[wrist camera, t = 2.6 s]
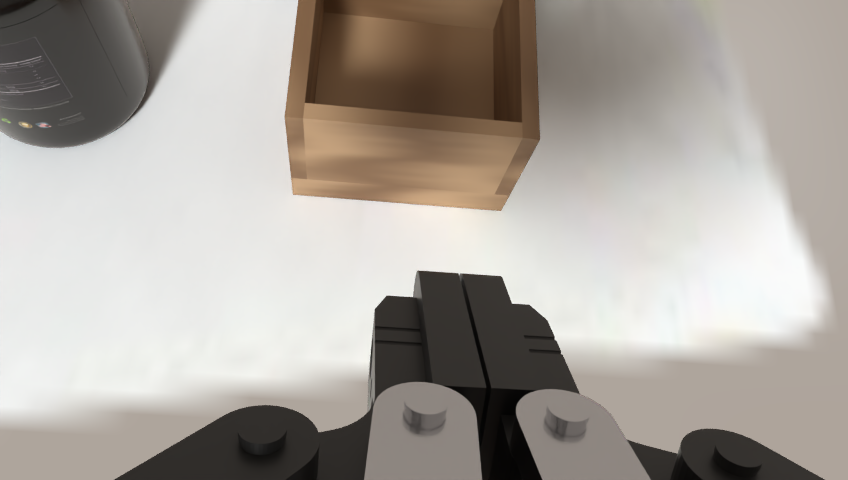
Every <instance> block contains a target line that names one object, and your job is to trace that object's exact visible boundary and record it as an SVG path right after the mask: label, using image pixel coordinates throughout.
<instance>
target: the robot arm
mask: <svg viewBox="0 0 848 480" xmlns="http://www.w3.org/2000/svg"><path fill="white" fill-rule="evenodd" d="M554 338H555V337H554V335H553V332H552V330H551V328H550V326H549V323H548V321H547V320H546V319H545V318H544V317H543V316H542V315H540V314H539V313H538V312H537V311H536V310H535V309H533V308H532V307H531V306H530V305H523V304H512V303H511V300H510V297H509V295H508V292H507V289H506V286H505V284H504V281H503V278H502V277H501V276H489V275H475V274H460V275H459V274H458V273H444V272H430V271H417V273H416V278H415V285H414V294H413V297H399V296H386V297H385V298H384V300H383V301H382V302H381V303H380V304H379V305H378V306H377V308H376V309H375V313H374V324H373V335H372V346H371V357H370V368H369V379H368V413H367V414H366V415H365V416H364V417H362V418H361V419H359V420H358V421H356V422H354V423H352V424H350V425H348V426H345V427H342V428H339V429H335V430H330V431H325V432H319V433H318V431H317V428H316V427H315V425H314V424H313V423H312V422H311V421H310V420H309V419H308V418H307V417H305V416H304V415H303V414H301V413H299V412H297V411H294V410H291V409H288V408H284V407H279V406H270V405H269V406H268V405H262V406H251V407H246V408H242V409H238V410H235V411H233V412H230V413H228V414H226V415H224V416H222V417H221V418H219V419H217V420H216V421H214V422H212V423H211V424H209V425H207V426H205V427H204V428H202V429H200V430H198V431H197V432H195V433H193V434H192V435H190V436H188V437H186V438H185V439H183V440H181V441H180V442H178V443H176V444H175V445H173V446H171V447H169V448H168V449H166V450H164V451H163V452H161V453H159V454H157V455H156V456H154V457H152V458H151V459H149V460H147V461H146V462H144V463H142V464H140V465H139V466H137V467H135V468H133V469H132V470H130V471H128V472H127V473H125V474H123V475H122V476H120V477H118V478H117V479H115V480H824V479H823V478H821V477H819V476H817V475H815V474H813V473H812V472H810V471H808V470H806V469H805V468H803V467H801V466H799V465H797V464H796V463H794V462H792V461H790V460H788V459H787V458H785V457H783V456H781V455H780V454H778V453H776V452H774V451H772V450H771V449H769V448H767V447H765V446H763V445H762V444H760V443H758V442H756V441H754V440H752V439H750V438H748V437H745V436H743V435H740V434H737V433H734V432H729V431H725V430H719V429H700V430H696V431H692V432H691V433H689V434H687V435H686V436H685V437H684V438H683V440H682V442H681V445H680V448H679V451H678V454H676V453H672V452H668V451H665V450H661V449H657V448H653V447H649V446H645V445H642V444H638V443H635V442H632V441H629V440H627V439H626V438H625V436H624V434H623V433H622V431H621V429H620V428H619V426H618V424H617V423H616V421H615V420H614V418H613V417H612V415H611V414H610V413H609V412H608V411H607V410H606V409H605V408H604V407H602V406H601V405H600V404H598V403H597V402H595V401H593V400H592V399H590V398H587V397H585V396H583V395H580V394H579V391H578V389H577V387H576V384H575V382H574V380H573V377H572V375H571V373H570V371H569V368H568V366H567V364H566V362H565V359H564V357H563V355H562V354H561V350H560V348H559V346H558V344H557V341H556V340H554Z"/></svg>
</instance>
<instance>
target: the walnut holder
mask: <svg viewBox="0 0 848 480" xmlns="http://www.w3.org/2000/svg"><path fill="white" fill-rule="evenodd" d="M285 124H286V133H287V143H288V152H289V161H290V171H291V180H292V189H293V195H306V196H318V197H331V198H344V199H357V200H369V201H382V202H395V203H408V204H420V205H433V206H446V207H458V208H471V209H484V210H497V211H501V210H502V208H503V206H504V204H505V203H506V201H507V199H508V197H509V195H510V193H511V192H512V190H513V188H514V186H515V184H516V182H517V181H518V179H519V177H520V175H521V173H522V171H523V170H524V168H525V166H526V164H527V162H528V160H529V159H530V157H531V155H532V153H533V151H534V149H535V148H536V146H537V144H538V142H539V140H540V130H539V101H538V73H537V44H536V16H535V0H298V8H297V17H296V25H295V34H294V42H293V51H292V59H291V68H290V76H289V85H288V93H287V102H286V110H285Z"/></svg>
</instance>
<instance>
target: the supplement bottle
mask: <svg viewBox="0 0 848 480" xmlns="http://www.w3.org/2000/svg"><path fill="white" fill-rule="evenodd" d="M148 81H149V61H148V56H147V52H146V49H145V46H144V43H143V41H142V38H141V35H140V33H139V30H138V28H137V26H136V23H135V21H134V18H133V16H132V13H131V11H130V8H129V6H128V4H127V1H126V0H0V131H1V132H3V133H4V134H6V135H7V136H9V137H11V138H13V139H15V140H18V141H20V142H23V143H26V144H30V145H33V146H39V147H48V148H64V147H73V146H79V145H83V144H86V143H89V142H93V141H95V140H98V139H100V138H102V137H104V136H106V135H108V134H110V133H111V132H113V131H114V130H116V129H117V128H118V127H120V126H121V125H122V124H123V123H125V122H126V121H127V120H128V119H129V118H130V117H131V115H132V114H133V113H134V112H135V110H136V109H137V108H138V106H139V105H140V103H141V101H142V99H143V97H144V95H145V92H146V89H147V86H148Z"/></svg>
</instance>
